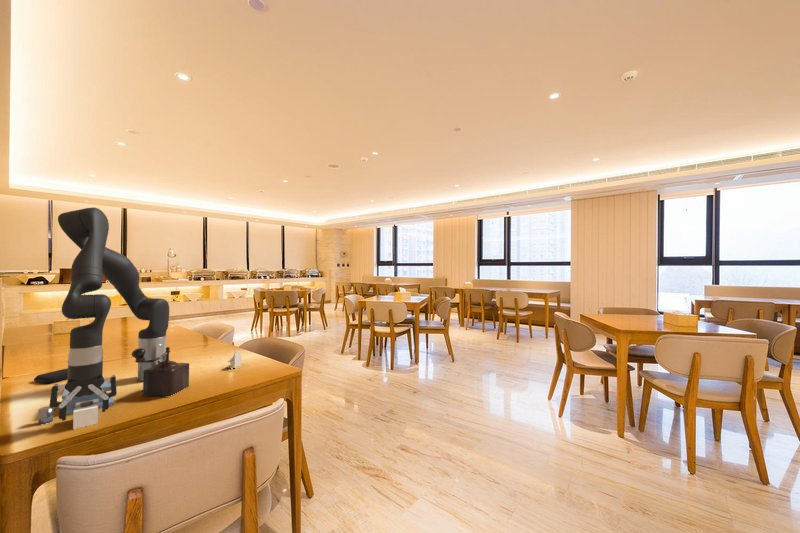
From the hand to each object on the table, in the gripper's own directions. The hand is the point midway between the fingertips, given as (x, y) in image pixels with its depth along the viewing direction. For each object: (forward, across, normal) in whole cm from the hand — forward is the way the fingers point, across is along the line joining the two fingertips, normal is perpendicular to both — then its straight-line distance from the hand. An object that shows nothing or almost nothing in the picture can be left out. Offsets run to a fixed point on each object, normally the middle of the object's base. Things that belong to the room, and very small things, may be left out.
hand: (84, 415), depth 96 cm
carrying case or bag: (+2, +9, -57) cm, 58 cm away
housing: (+2, 0, 0) cm, 2 cm away
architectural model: (+2, -49, -29) cm, 57 cm away
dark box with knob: (+2, -19, -12) cm, 23 cm away
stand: (+2, 0, -16) cm, 16 cm away
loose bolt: (+2, +9, -7) cm, 11 cm away
